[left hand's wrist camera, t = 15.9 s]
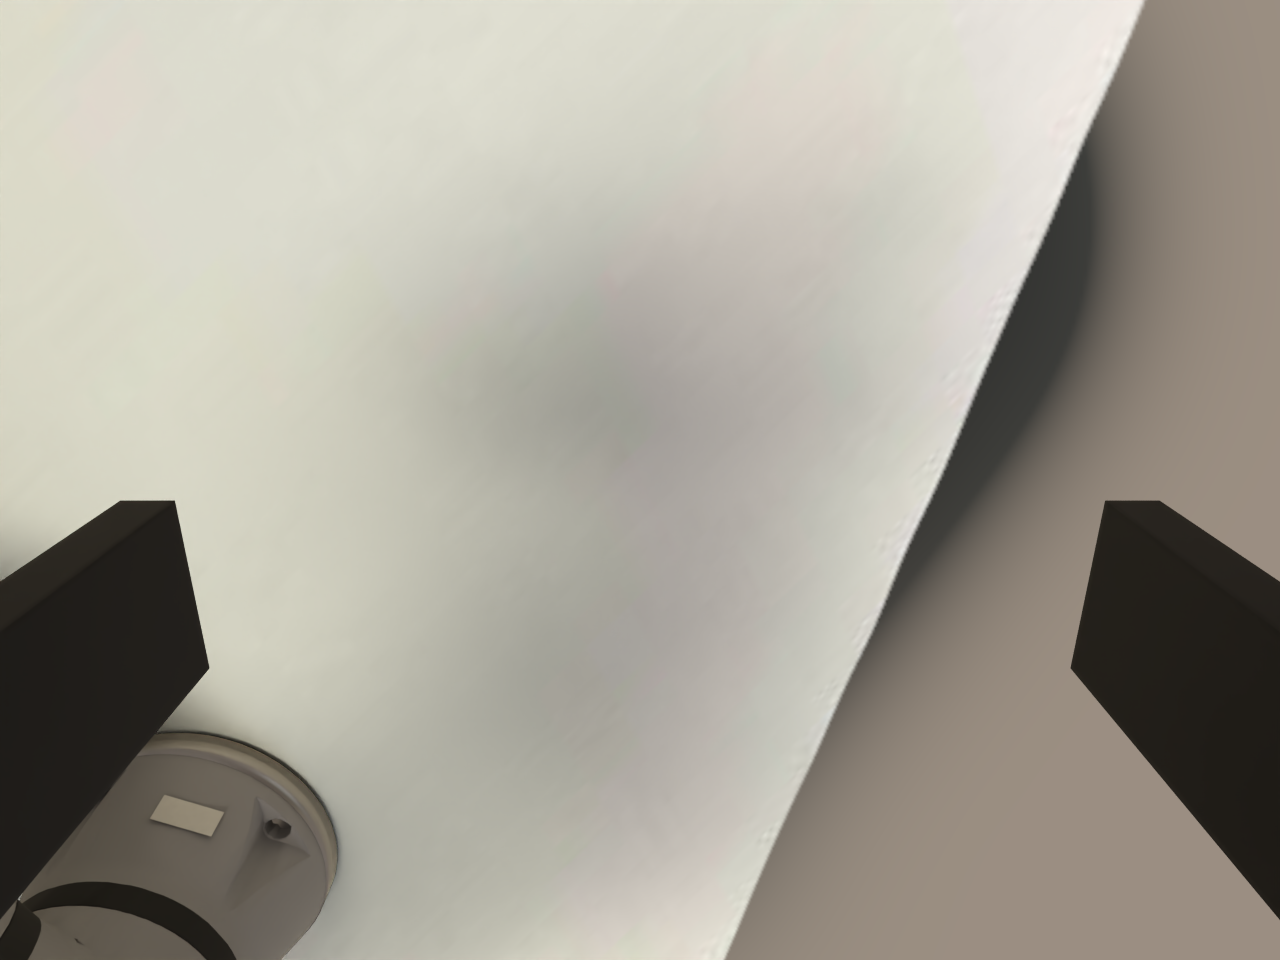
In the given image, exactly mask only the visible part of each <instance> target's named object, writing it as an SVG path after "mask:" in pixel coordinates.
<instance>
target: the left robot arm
mask: <svg viewBox="0 0 1280 960" xmlns="http://www.w3.org/2000/svg"><path fill="white" fill-rule="evenodd" d="M208 669H209V664H208V659H207V654H206V649H205V644H204V640H203V635H202V630H201V625H200V620H199V615H198V611H197V606H196V601H195V596H194V591H193V586H192V582H191V577H190V572H189V567H188V562H187V557H186V553H185V548H184V543H183V538H182V533H181V528H180V524H179V519H178V514H177V509H176V504H175V501H119V502H118V503H116V504H115V505H113V506H112V507H110V508H109V509H107V510H106V511H104V512H103V513H101V514H100V515H98V516H97V517H96V518H94V519H93V520H91V521H90V522H88V523H87V524H85V525H84V526H82V527H81V528H79V529H78V530H76V531H75V532H73V533H72V534H70V535H69V536H67V537H66V538H64V539H63V540H61V541H60V542H58V543H57V544H55V545H54V546H52V547H51V548H50V549H48V550H47V551H45V552H44V553H42V554H41V555H39V556H38V557H36V558H35V559H33V560H32V561H30V562H29V563H27V564H26V565H24V566H23V567H21V568H20V569H18V570H17V571H15V572H14V573H12V574H11V575H9V576H8V577H6V578H5V579H4V580H2V581H1V582H0V960H281V959H282V958H283V957H284V956H285V955H286V954H287V953H288V952H289V950H290V949H291V948H292V947H293V946H294V945H295V944H296V943H297V942H298V941H299V939H300V938H301V937H302V936H303V935H304V934H305V933H306V931H307V930H308V929H309V928H310V927H311V926H312V924H313V923H314V922H315V920H316V918H317V917H318V915H319V913H320V911H321V909H322V906H323V904H324V902H325V899H326V897H327V895H328V892H329V890H330V887H331V885H332V882H333V880H334V876H335V872H336V867H337V844H336V838H335V834H334V831H333V828H332V825H331V822H330V820H329V818H328V816H327V814H326V812H325V810H324V808H323V807H322V805H321V804H320V802H319V801H318V799H317V798H316V797H315V795H314V794H313V793H312V792H311V790H310V789H309V788H308V787H307V786H306V785H305V784H304V783H303V782H302V781H301V780H300V779H299V778H298V777H296V776H295V775H294V774H293V773H292V772H291V771H289V770H288V769H287V768H285V767H284V766H283V765H281V764H280V763H278V762H276V761H275V760H273V759H272V758H270V757H268V756H266V755H264V754H263V753H261V752H259V751H257V750H254V749H252V748H250V747H247V746H245V745H242V744H239V743H236V742H233V741H230V740H227V739H223V738H219V737H215V736H209V735H203V734H193V733H164V734H156V735H154V734H155V733H156V732H157V731H158V729H159V728H160V727H161V726H162V725H163V723H164V722H165V721H166V720H167V719H168V717H169V716H170V715H171V714H172V713H173V711H174V710H175V709H176V708H177V707H178V705H179V704H180V703H181V702H182V701H183V699H184V698H185V697H186V696H187V695H188V693H189V692H190V691H191V690H192V689H193V687H194V686H195V685H196V684H197V683H198V681H199V680H200V679H201V678H202V676H203V675H204V674H205V673H206V672H207V670H208ZM1071 669H1072V670H1073V672H1074V673H1075V674H1076V675H1077V676H1078V678H1079V679H1080V680H1081V681H1082V682H1083V684H1084V685H1085V686H1086V687H1087V689H1088V690H1089V691H1090V692H1091V693H1092V695H1093V696H1094V697H1095V698H1096V699H1097V701H1098V702H1099V703H1100V704H1101V705H1102V707H1103V708H1104V709H1105V710H1106V711H1107V713H1108V714H1109V715H1110V716H1111V717H1112V719H1113V720H1114V721H1115V722H1116V723H1117V725H1118V726H1119V727H1120V728H1121V729H1122V731H1123V732H1124V733H1125V734H1126V735H1127V737H1128V738H1129V739H1130V740H1131V741H1132V743H1133V744H1134V745H1135V746H1136V747H1137V749H1138V750H1139V751H1140V752H1141V753H1142V755H1143V756H1144V757H1145V758H1146V759H1147V761H1148V762H1149V763H1150V764H1151V765H1152V767H1153V768H1154V769H1155V770H1156V771H1157V773H1158V774H1159V775H1160V776H1161V777H1162V779H1163V780H1164V781H1165V782H1166V783H1167V785H1168V786H1169V787H1170V788H1171V790H1172V791H1173V792H1174V793H1175V794H1176V796H1177V797H1178V798H1179V799H1180V800H1181V802H1182V803H1183V804H1184V805H1185V806H1186V808H1187V809H1188V810H1189V811H1190V812H1191V814H1192V815H1193V816H1194V817H1195V818H1196V820H1197V821H1198V822H1199V823H1200V824H1201V826H1202V827H1203V828H1204V829H1205V830H1206V832H1207V833H1208V834H1209V835H1210V836H1211V838H1212V839H1213V840H1214V841H1215V842H1216V844H1217V845H1218V846H1219V847H1220V848H1221V850H1222V851H1223V852H1224V853H1225V854H1226V856H1227V857H1228V858H1229V859H1230V860H1231V862H1232V863H1233V864H1234V865H1235V866H1236V868H1237V869H1238V870H1239V871H1240V872H1241V874H1242V875H1243V876H1244V877H1245V878H1246V880H1247V881H1248V882H1249V883H1250V884H1251V886H1252V887H1253V888H1254V889H1255V891H1256V892H1257V893H1258V894H1259V895H1260V897H1261V898H1262V899H1263V900H1264V901H1265V903H1266V904H1267V905H1268V906H1269V907H1270V909H1271V910H1272V911H1273V912H1274V913H1275V915H1276V916H1277V917H1278V918H1279V919H1280V582H1279V581H1278V580H1276V579H1275V578H1273V577H1272V576H1271V575H1269V574H1268V573H1266V572H1265V571H1263V570H1262V569H1260V568H1259V567H1257V566H1256V565H1254V564H1253V563H1251V562H1250V561H1248V560H1247V559H1245V558H1244V557H1242V556H1241V555H1239V554H1238V553H1236V552H1235V551H1233V550H1232V549H1230V548H1229V547H1228V546H1226V545H1225V544H1223V543H1222V542H1220V541H1219V540H1217V539H1216V538H1214V537H1213V536H1211V535H1210V534H1208V533H1207V532H1205V531H1204V530H1202V529H1201V528H1199V527H1198V526H1196V525H1195V524H1193V523H1192V522H1190V521H1189V520H1187V519H1186V518H1184V517H1183V516H1182V515H1180V514H1178V513H1177V512H1176V511H1174V510H1173V509H1171V508H1170V507H1168V506H1167V505H1165V504H1164V503H1162V502H1161V501H1105V504H1104V509H1103V514H1102V519H1101V524H1100V528H1099V533H1098V538H1097V543H1096V548H1095V553H1094V557H1093V562H1092V567H1091V572H1090V577H1089V582H1088V586H1087V591H1086V596H1085V601H1084V606H1083V611H1082V615H1081V620H1080V625H1079V630H1078V635H1077V639H1076V645H1075V649H1074V654H1073V659H1072V664H1071ZM21 894H22V896H21V899H20V901H19V900H17V899H18V898H19V897H20V895H21Z"/></svg>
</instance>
